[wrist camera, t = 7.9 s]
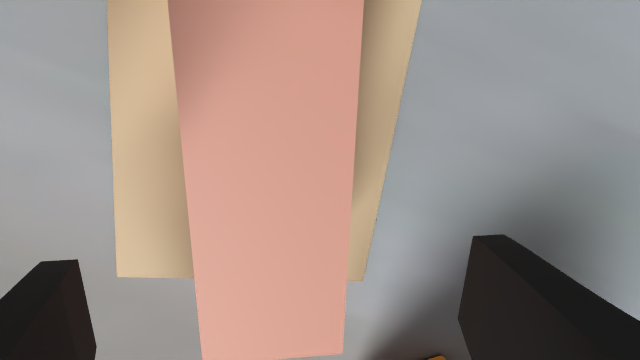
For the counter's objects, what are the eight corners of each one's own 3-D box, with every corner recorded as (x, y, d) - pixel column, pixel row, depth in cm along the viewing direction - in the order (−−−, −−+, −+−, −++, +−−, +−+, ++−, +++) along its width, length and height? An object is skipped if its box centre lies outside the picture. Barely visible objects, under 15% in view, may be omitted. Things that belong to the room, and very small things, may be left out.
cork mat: (438, -91, 16) (440, -91, 16) (362, 278, 22) (363, 281, 22) (103, -140, 15) (102, -139, 14) (117, 273, 21) (117, 276, 20)
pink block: (330, -74, 16) (369, -50, 12) (320, 253, 21) (343, 353, 17) (178, -76, 15) (159, -52, 11) (206, 260, 21) (201, 366, 16)
